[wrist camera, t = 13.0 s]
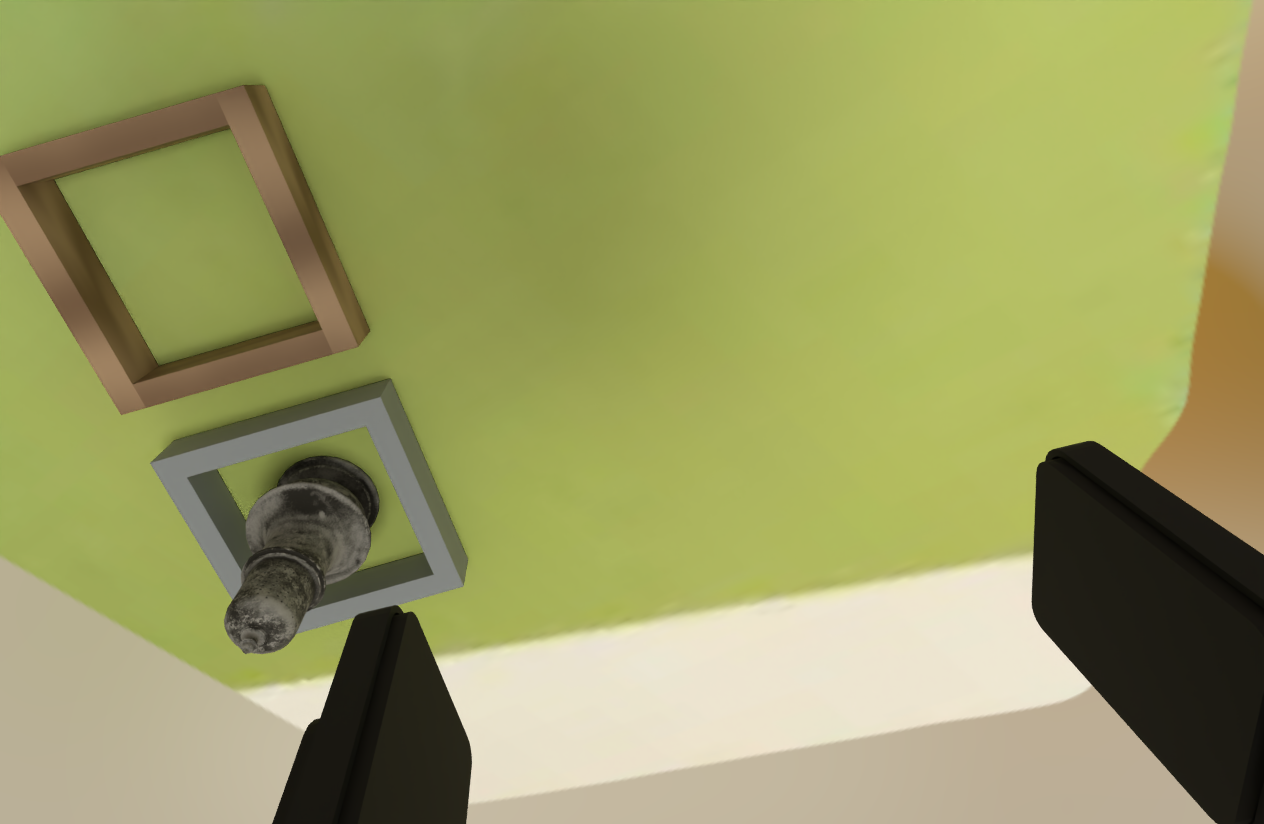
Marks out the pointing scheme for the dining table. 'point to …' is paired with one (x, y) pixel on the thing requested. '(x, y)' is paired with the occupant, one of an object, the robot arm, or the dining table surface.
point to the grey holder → (375, 406)
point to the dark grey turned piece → (300, 549)
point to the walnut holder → (89, 296)
